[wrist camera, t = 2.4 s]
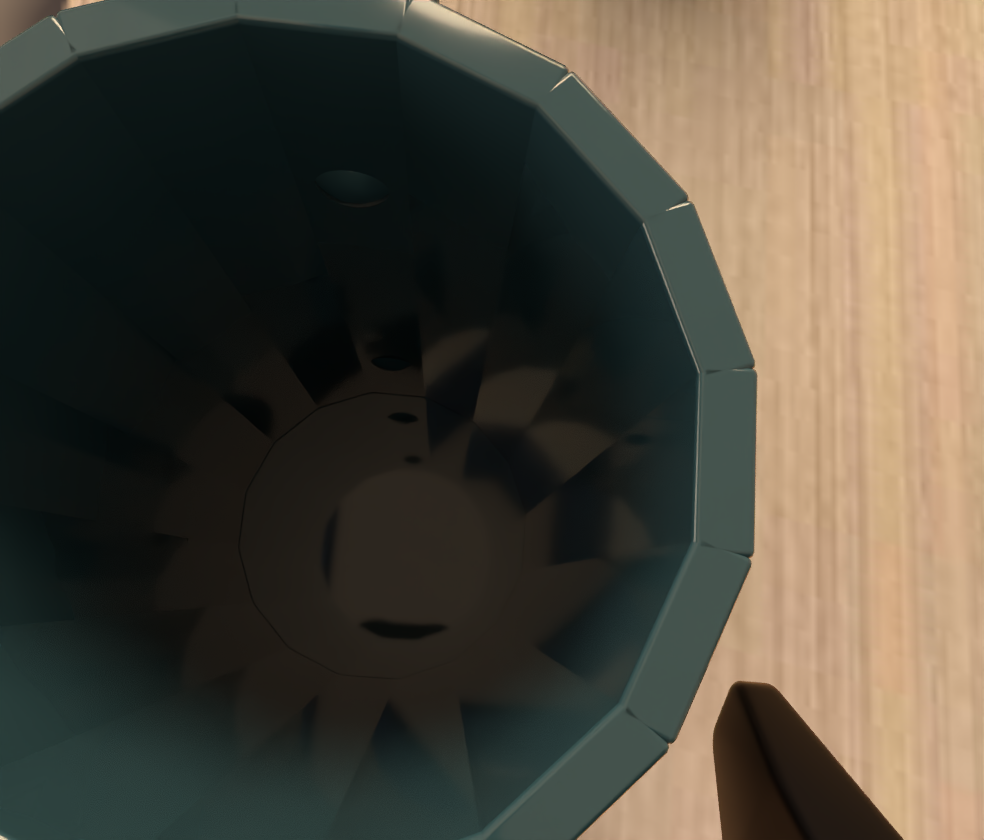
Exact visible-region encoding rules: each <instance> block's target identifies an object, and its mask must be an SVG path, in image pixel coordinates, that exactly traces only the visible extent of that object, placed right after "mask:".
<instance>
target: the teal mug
mask: <svg viewBox="0 0 984 840" xmlns="http://www.w3.org/2000/svg"><path fill="white" fill-rule="evenodd" d="M754 367H755V360H754V358H753V355H752V353H751V350H750V348H749V345H748V342H747V340H746V337H745V335H744V332H743V330H742V327H741V324H740V322H739V319H738V317H737V314H736V312H735V309H734V306H733V304H732V301H731V299H730V296H729V294H728V291H727V288H726V286H725V283H724V281H723V278H722V276H721V273H720V270H719V268H718V265H717V263H716V260H715V258H714V255H713V252H712V250H711V247H710V245H709V242H708V240H707V237H706V234H705V232H704V229H703V227H702V224H701V222H700V219H699V216H698V214H697V211H696V209H695V206H694V204H693V203H692V202H691V201H688V195H687V193H686V192H685V191H684V190H683V189H682V188H681V187H680V185H679V184H678V183H677V182H676V181H675V180H674V179H673V178H672V177H671V176H670V175H669V174H668V173H667V171H666V170H665V169H664V168H663V167H662V166H661V165H660V164H659V163H658V162H657V161H656V160H655V159H654V157H653V156H652V155H651V154H650V153H649V152H648V151H647V150H646V149H645V148H644V147H643V146H642V145H641V143H640V142H639V141H638V140H637V139H636V138H635V137H634V136H633V135H632V134H631V133H630V132H629V131H628V129H627V128H626V127H625V126H624V125H623V124H622V123H621V122H620V121H619V120H618V119H617V118H616V117H615V115H614V114H613V113H612V112H611V111H610V110H609V109H608V108H607V107H606V106H605V105H604V104H603V103H602V101H601V100H600V99H599V98H598V97H597V96H596V95H595V94H594V93H593V92H592V91H591V90H590V89H589V87H588V86H587V85H586V84H585V83H584V82H583V81H582V80H581V79H580V78H579V77H578V76H577V75H576V74H575V73H574V72H569V70H568V68H567V67H566V66H565V65H563V64H561V63H559V62H557V61H555V60H553V59H551V58H549V57H547V56H545V55H543V54H541V53H539V52H537V51H535V50H533V49H531V48H529V47H527V46H524V45H522V44H520V43H518V42H516V41H514V40H512V39H510V38H508V37H506V36H504V35H502V34H500V33H498V32H496V31H494V30H492V29H490V28H488V27H486V26H484V25H482V24H480V23H478V22H476V21H474V20H472V19H470V18H468V17H466V16H464V15H462V14H460V13H458V12H456V11H454V10H452V9H450V8H448V7H446V6H444V5H442V4H440V3H439V0H104V1H99V2H95V3H91V4H87V5H82V6H78V7H74V8H69V9H65V10H61V11H59V12H58V13H57V18H56V17H54V16H53V15H50V16H47V17H45V18H44V19H42V20H41V21H40V22H38V23H36V24H34V25H33V26H32V27H30V28H28V29H27V30H25V31H24V32H22V33H20V34H19V35H17V36H16V37H14V38H13V39H11V40H9V41H8V42H6V43H5V44H3V45H2V46H0V840H577V839H578V838H579V837H580V836H581V835H582V834H583V833H584V832H585V831H586V830H587V829H588V828H589V827H590V826H591V825H592V824H593V823H594V822H596V821H597V820H598V819H599V818H600V817H601V816H602V815H603V814H604V813H605V812H606V811H607V810H608V809H609V808H610V807H611V806H612V805H613V804H614V803H615V802H616V801H617V800H618V799H619V798H620V797H622V796H623V795H624V794H625V793H626V792H627V791H628V790H629V789H630V788H631V787H632V786H633V785H634V784H635V783H636V782H637V781H638V780H639V779H640V778H641V777H642V776H643V775H644V774H645V773H647V772H648V771H649V770H650V769H651V768H652V767H653V766H654V765H655V764H656V763H657V762H658V761H659V760H660V759H661V758H662V757H663V756H664V755H665V754H666V753H667V751H668V749H669V745H668V744H672V743H673V742H674V741H675V740H676V739H677V737H678V734H679V732H680V730H681V727H682V725H683V723H684V720H685V718H686V716H687V713H688V711H689V709H690V707H691V704H692V702H693V700H694V697H695V695H696V693H697V690H698V688H699V686H700V684H701V681H702V679H703V677H704V674H705V672H706V670H707V667H708V665H709V663H710V660H711V658H712V656H713V654H714V651H715V649H716V647H717V644H718V642H719V640H720V637H721V635H722V633H723V631H724V628H725V626H726V624H727V621H728V619H729V617H730V614H731V612H732V610H733V608H734V605H735V603H736V601H737V598H738V596H739V594H740V591H741V589H742V587H743V584H744V582H745V580H746V578H747V575H748V573H749V571H750V568H751V560H750V559H749V558H751V557H752V556H753V553H754V537H755V479H756V420H757V373H756V370H754V369H753V368H754Z"/></svg>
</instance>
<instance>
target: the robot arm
mask: <svg viewBox="0 0 984 840" xmlns="http://www.w3.org/2000/svg"><path fill="white" fill-rule="evenodd" d="M713 754H714V763H715V773H716V783H717V792H718V802H719V811H720V821H721V830H722V840H903V838H902V837H901V836H900V835H899V834H898V832H897V831H896V830H895V829H894V828H893V826H892V825H891V824H890V823H889V822H888V821H887V819H886V818H885V817H884V816H883V815H882V813H881V812H880V811H879V810H878V809H877V807H876V806H875V805H874V804H873V803H872V801H871V800H870V799H869V798H868V797H867V795H866V794H865V793H864V792H863V791H862V790H861V788H860V787H859V786H858V785H857V784H856V782H855V781H854V780H853V779H852V778H851V776H850V775H849V774H848V773H847V772H846V770H845V769H844V768H843V767H842V766H841V764H840V763H839V762H838V761H837V760H836V759H835V757H834V756H833V755H832V754H831V753H830V751H829V750H828V749H827V748H826V747H825V745H824V744H823V743H822V742H821V741H820V739H819V738H818V737H817V736H816V735H815V734H814V732H813V731H812V730H811V729H810V728H809V726H808V725H807V724H806V723H805V722H804V720H803V719H802V718H801V717H800V716H799V714H798V713H797V712H796V711H795V710H794V708H793V707H792V706H791V705H790V704H789V703H788V701H787V700H786V699H785V698H784V697H783V695H782V694H781V693H780V692H779V691H778V690H777V689H776V688H775V687H774V686H772V685H770V684H767V683H758V682H745V681H738V682H735V683H734V684H733V685H732V686H731V688H730V690H729V692H728V694H727V697H726V700H725V702H724V705H723V707H722V710H721V712H720V715H719V717H718V720H717V722H716V725H715V728H714V733H713Z"/></svg>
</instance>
